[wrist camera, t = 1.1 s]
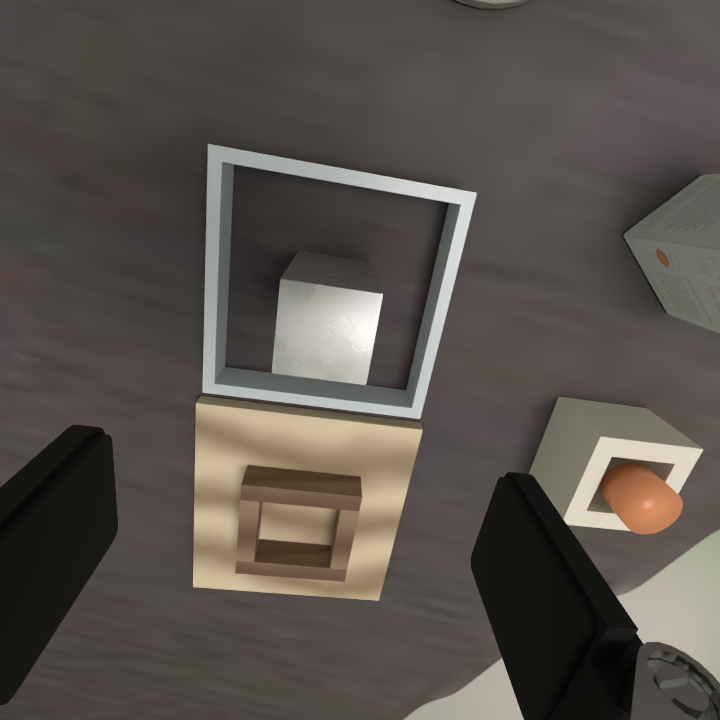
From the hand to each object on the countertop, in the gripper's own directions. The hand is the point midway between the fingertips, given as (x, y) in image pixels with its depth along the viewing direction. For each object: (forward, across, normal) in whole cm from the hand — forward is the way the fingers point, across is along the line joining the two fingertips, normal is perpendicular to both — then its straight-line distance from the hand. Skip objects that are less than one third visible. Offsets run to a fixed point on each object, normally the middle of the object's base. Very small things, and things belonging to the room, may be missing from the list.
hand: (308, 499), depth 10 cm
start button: (+16, -24, +10) cm, 31 cm away
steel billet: (+22, 0, 0) cm, 22 cm away
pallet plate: (+22, 0, +20) cm, 29 cm away
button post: (+22, -24, +10) cm, 34 cm away
